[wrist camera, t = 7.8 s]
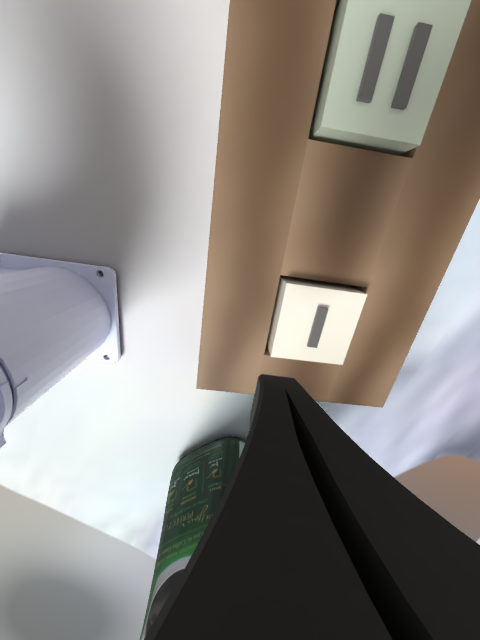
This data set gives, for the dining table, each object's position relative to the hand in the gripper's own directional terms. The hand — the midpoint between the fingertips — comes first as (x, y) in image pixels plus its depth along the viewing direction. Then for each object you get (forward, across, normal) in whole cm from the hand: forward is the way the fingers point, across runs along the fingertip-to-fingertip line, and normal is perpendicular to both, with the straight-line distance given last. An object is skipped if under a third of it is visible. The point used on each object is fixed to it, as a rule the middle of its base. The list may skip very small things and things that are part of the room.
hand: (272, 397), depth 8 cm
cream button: (+9, -3, -1) cm, 10 cm away
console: (+10, -3, -7) cm, 13 cm away
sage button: (+9, -3, -13) cm, 16 cm away
